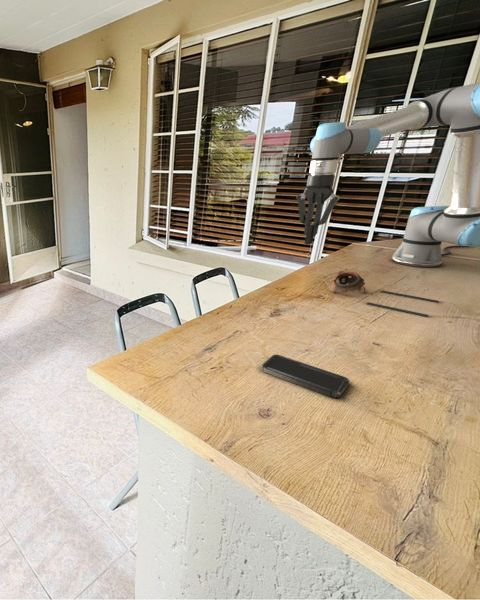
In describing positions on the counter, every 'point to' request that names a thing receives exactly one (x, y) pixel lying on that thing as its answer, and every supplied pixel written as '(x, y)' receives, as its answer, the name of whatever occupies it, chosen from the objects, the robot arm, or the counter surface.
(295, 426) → the counter surface
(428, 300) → the bay strips
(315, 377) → the phone
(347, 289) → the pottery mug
